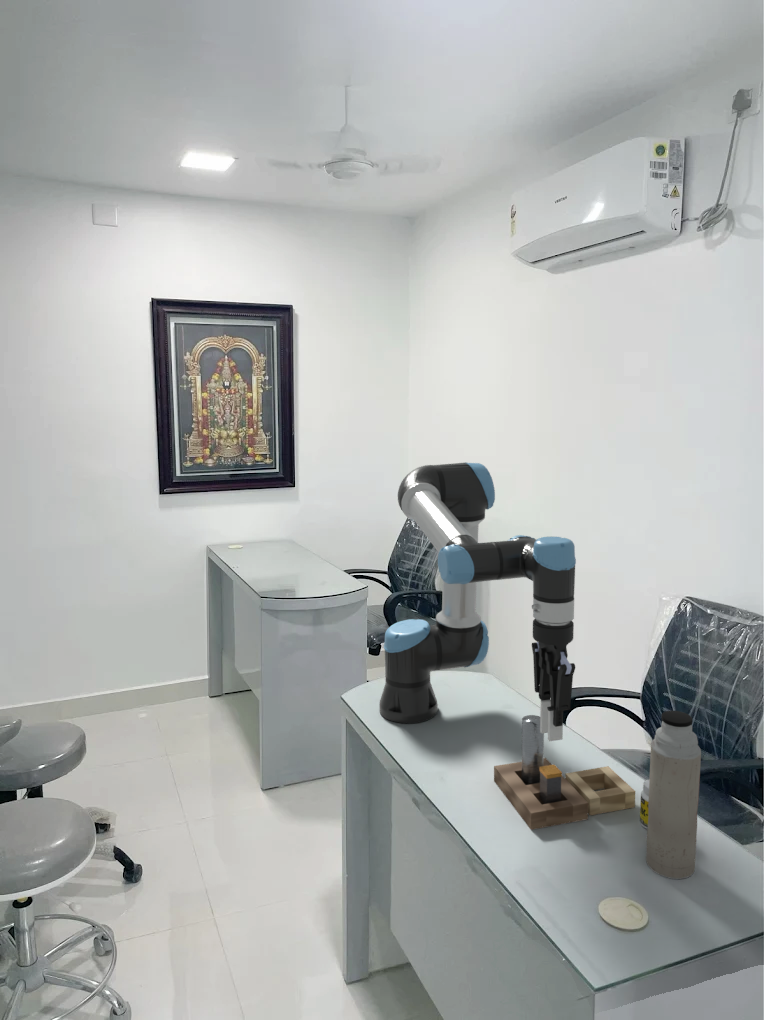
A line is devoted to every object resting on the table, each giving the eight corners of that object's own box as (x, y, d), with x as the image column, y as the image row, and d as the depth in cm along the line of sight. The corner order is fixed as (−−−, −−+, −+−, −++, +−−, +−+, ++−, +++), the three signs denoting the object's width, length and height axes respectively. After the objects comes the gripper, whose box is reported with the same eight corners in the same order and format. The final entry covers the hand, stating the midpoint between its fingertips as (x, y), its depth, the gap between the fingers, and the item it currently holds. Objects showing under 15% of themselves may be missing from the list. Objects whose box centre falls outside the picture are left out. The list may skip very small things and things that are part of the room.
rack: (565, 788, 154) (565, 773, 153) (607, 781, 156) (608, 766, 155) (589, 815, 144) (590, 799, 144) (634, 807, 147) (635, 791, 146)
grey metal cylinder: (517, 787, 155) (518, 716, 152) (537, 784, 156) (538, 713, 153) (527, 798, 150) (527, 726, 148) (546, 795, 151) (547, 723, 149)
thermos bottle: (689, 852, 132) (697, 707, 127) (699, 881, 125) (707, 728, 120) (643, 847, 134) (649, 704, 129) (649, 876, 126) (656, 724, 121)
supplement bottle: (634, 821, 142) (635, 781, 141) (653, 814, 144) (654, 775, 142) (652, 834, 138) (654, 793, 136) (671, 828, 140) (673, 787, 138)
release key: (539, 798, 146) (539, 766, 145) (553, 795, 147) (554, 764, 146) (546, 807, 143) (546, 775, 142) (561, 804, 144) (562, 772, 143)
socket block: (494, 781, 157) (494, 766, 157) (545, 772, 160) (545, 757, 160) (530, 829, 140) (531, 813, 140) (587, 819, 143) (588, 802, 142)
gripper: (517, 609, 145) (516, 720, 149) (554, 635, 130) (552, 758, 134) (552, 605, 147) (550, 715, 151) (592, 630, 132) (589, 752, 136)
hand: (551, 735), depth 142 cm, fingers open, 3 cm apart
